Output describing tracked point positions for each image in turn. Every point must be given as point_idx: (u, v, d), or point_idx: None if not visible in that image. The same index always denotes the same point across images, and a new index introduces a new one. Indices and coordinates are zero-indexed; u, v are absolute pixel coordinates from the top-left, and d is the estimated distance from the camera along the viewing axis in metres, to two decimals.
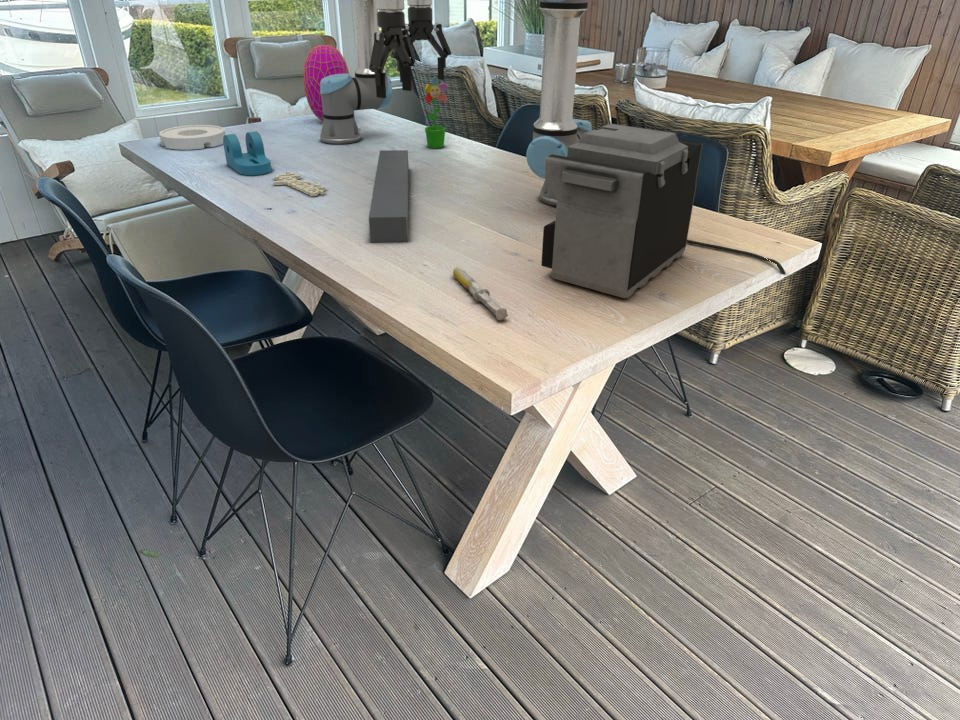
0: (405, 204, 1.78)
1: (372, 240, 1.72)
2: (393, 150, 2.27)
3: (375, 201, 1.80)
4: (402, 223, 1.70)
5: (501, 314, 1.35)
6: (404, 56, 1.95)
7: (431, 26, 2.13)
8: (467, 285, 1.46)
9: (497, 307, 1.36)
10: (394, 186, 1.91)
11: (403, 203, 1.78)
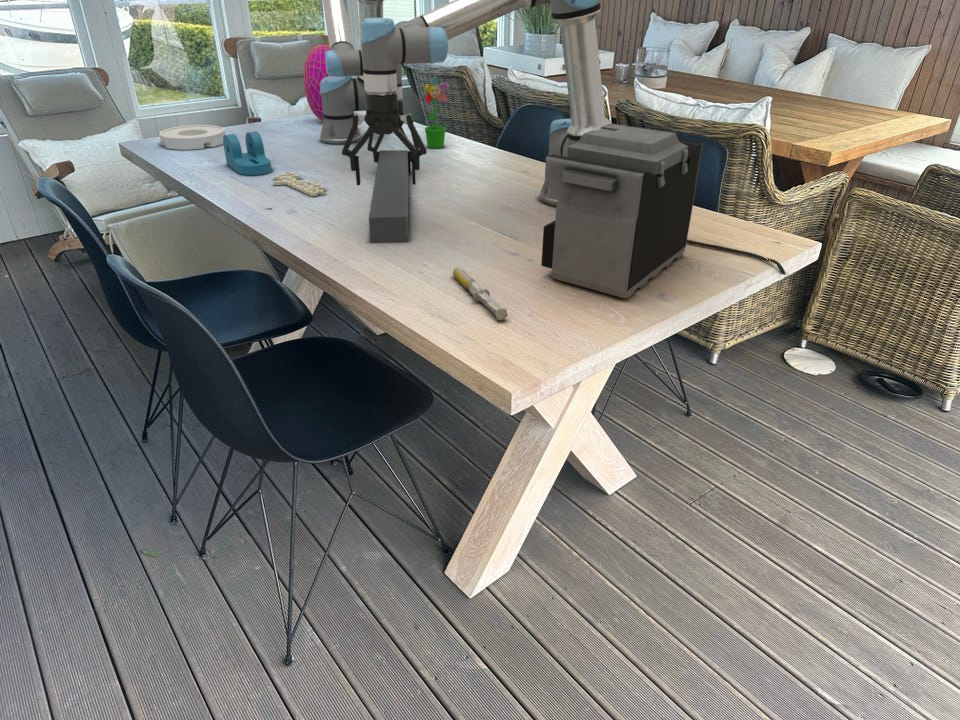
0: (405, 204, 1.78)
1: (372, 240, 1.72)
2: (393, 150, 2.27)
3: (375, 201, 1.80)
4: (402, 223, 1.70)
5: (501, 314, 1.35)
6: None
7: None
8: (467, 285, 1.46)
9: (497, 307, 1.36)
10: (394, 186, 1.91)
11: (403, 203, 1.78)
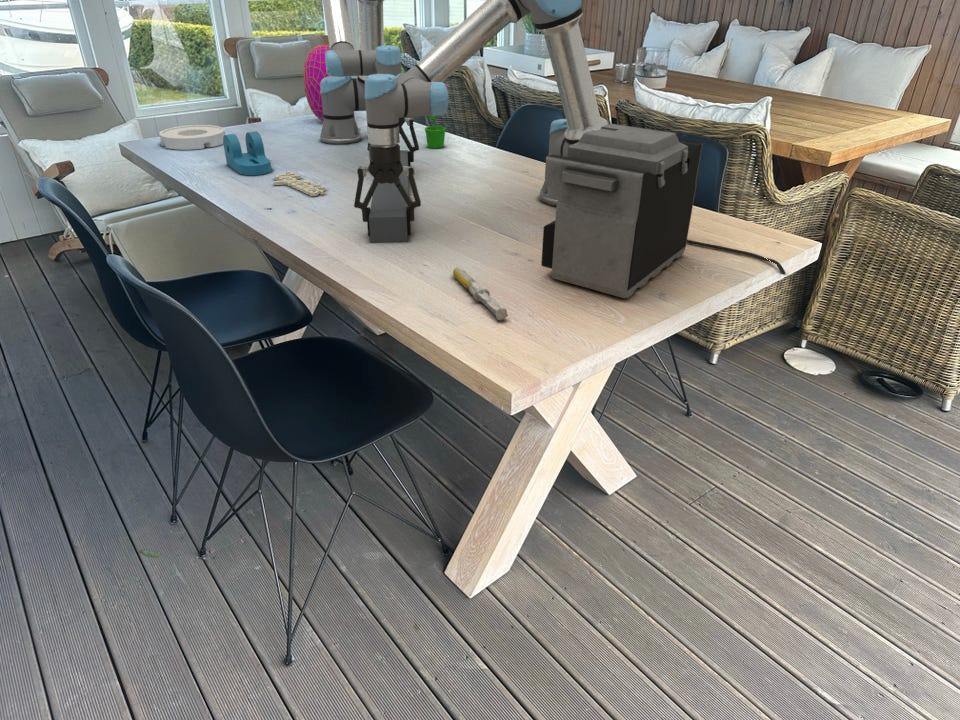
0: (405, 204, 1.78)
1: (372, 240, 1.72)
2: None
3: (375, 201, 1.80)
4: (402, 223, 1.70)
5: (501, 314, 1.35)
6: None
7: None
8: (467, 285, 1.46)
9: (497, 307, 1.36)
10: (394, 186, 1.91)
11: (403, 203, 1.78)
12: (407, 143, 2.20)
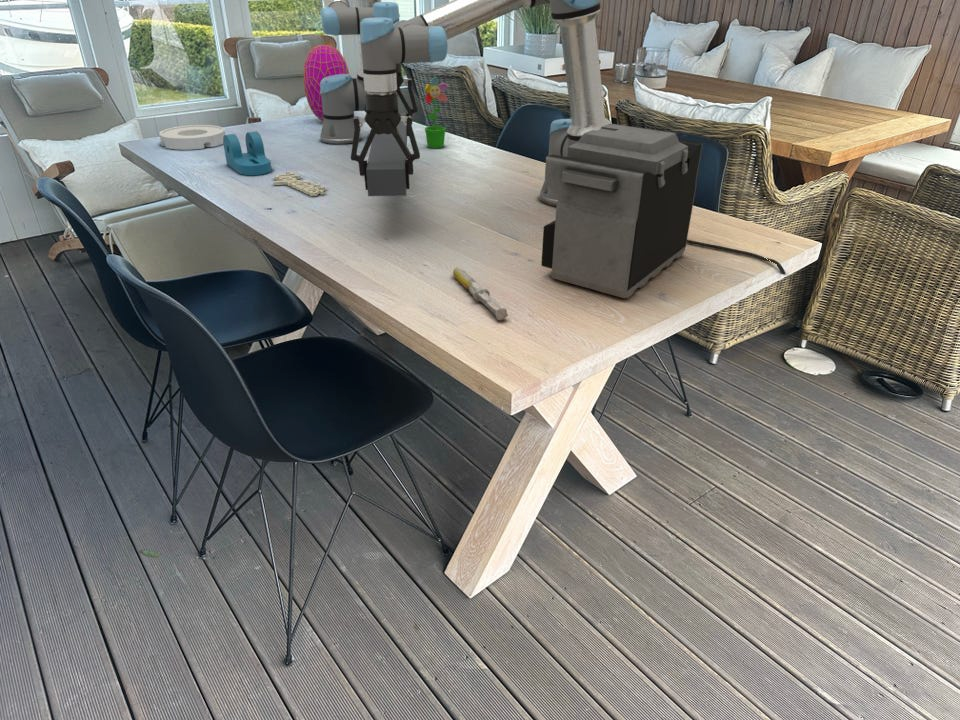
0: (404, 158, 1.72)
1: (370, 194, 1.66)
2: None
3: (372, 155, 1.74)
4: (401, 176, 1.64)
5: (501, 314, 1.35)
6: None
7: None
8: (467, 285, 1.46)
9: (497, 307, 1.36)
10: (392, 143, 1.86)
11: (402, 157, 1.73)
12: (405, 104, 2.14)
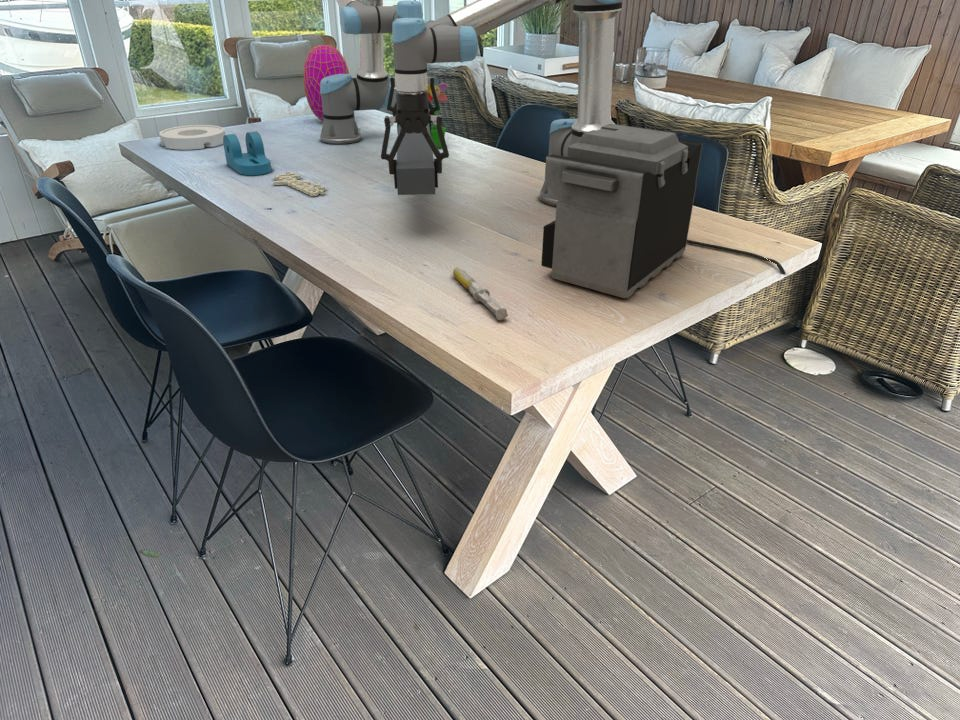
0: (432, 157, 1.74)
1: (399, 193, 1.68)
2: None
3: (400, 154, 1.75)
4: (430, 175, 1.66)
5: (501, 314, 1.35)
6: (430, 146, 1.67)
7: None
8: (467, 285, 1.46)
9: (497, 307, 1.36)
10: (418, 142, 1.87)
11: (430, 156, 1.74)
12: (428, 102, 2.16)
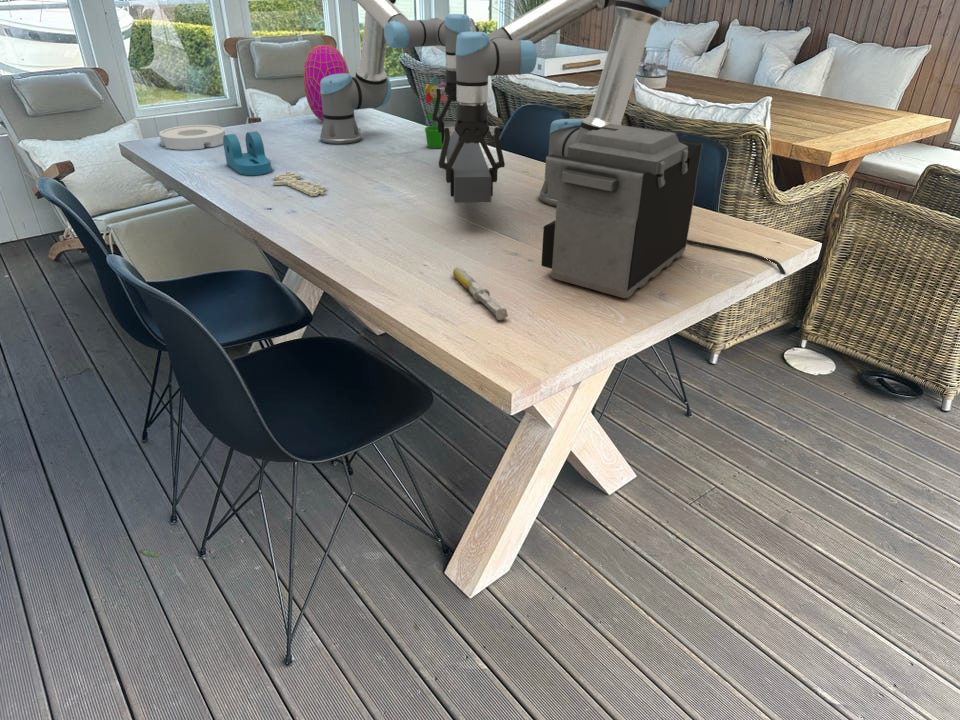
0: (486, 166, 1.78)
1: (456, 201, 1.72)
2: None
3: (455, 163, 1.80)
4: (487, 184, 1.71)
5: (501, 314, 1.35)
6: None
7: None
8: (467, 285, 1.46)
9: (497, 307, 1.36)
10: (469, 151, 1.92)
11: (484, 165, 1.79)
12: None
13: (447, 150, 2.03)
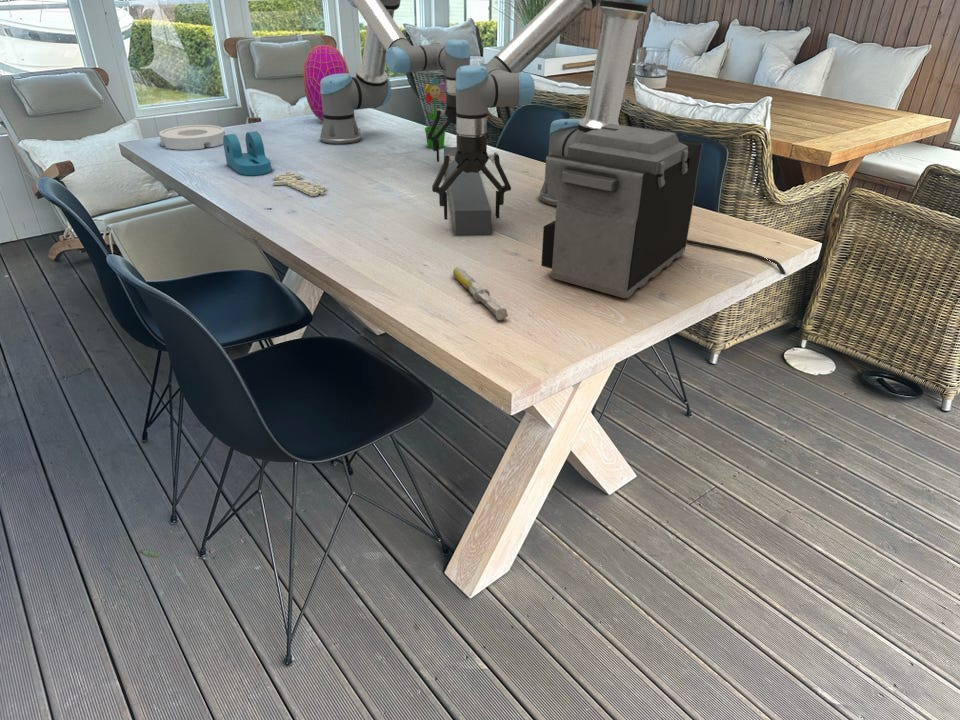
0: (486, 198, 1.83)
1: (457, 233, 1.77)
2: None
3: (455, 195, 1.85)
4: (487, 217, 1.75)
5: (501, 314, 1.35)
6: None
7: None
8: (467, 285, 1.46)
9: (497, 307, 1.36)
10: (470, 181, 1.96)
11: (484, 197, 1.83)
12: None
13: None
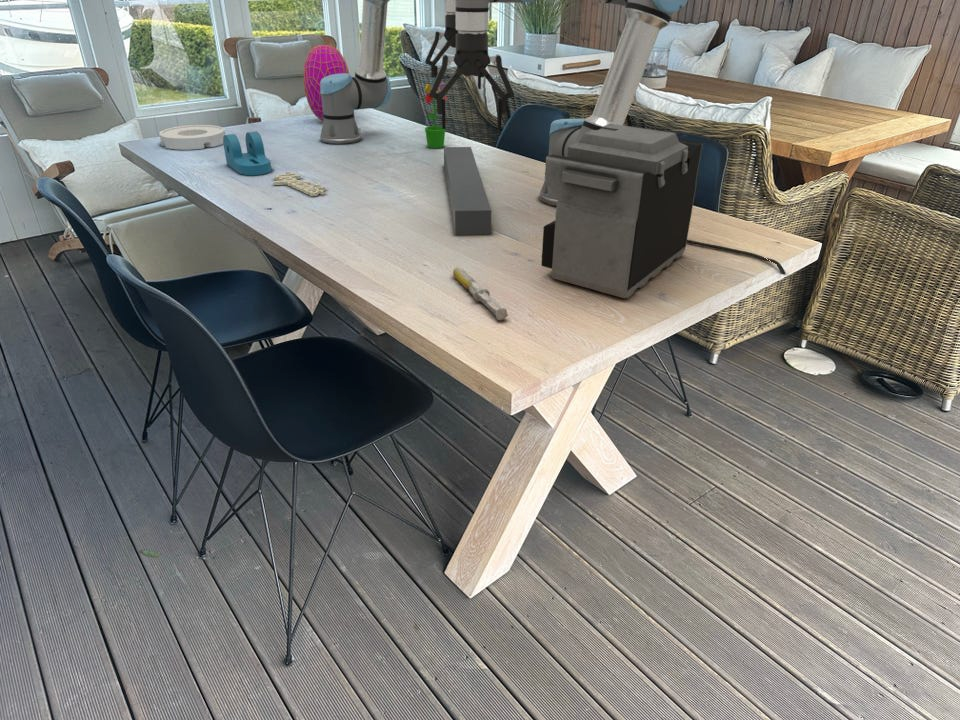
0: (486, 198, 1.83)
1: (457, 233, 1.77)
2: (457, 147, 2.32)
3: (455, 195, 1.85)
4: (487, 217, 1.75)
5: (501, 314, 1.35)
6: (493, 87, 1.63)
7: None
8: (467, 285, 1.46)
9: (497, 307, 1.36)
10: (470, 181, 1.96)
11: (484, 197, 1.83)
12: None
13: None
